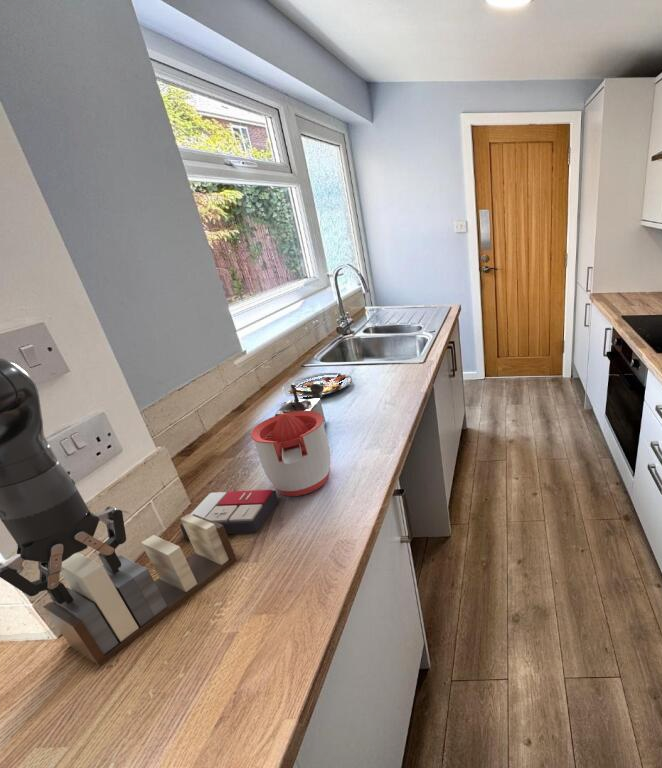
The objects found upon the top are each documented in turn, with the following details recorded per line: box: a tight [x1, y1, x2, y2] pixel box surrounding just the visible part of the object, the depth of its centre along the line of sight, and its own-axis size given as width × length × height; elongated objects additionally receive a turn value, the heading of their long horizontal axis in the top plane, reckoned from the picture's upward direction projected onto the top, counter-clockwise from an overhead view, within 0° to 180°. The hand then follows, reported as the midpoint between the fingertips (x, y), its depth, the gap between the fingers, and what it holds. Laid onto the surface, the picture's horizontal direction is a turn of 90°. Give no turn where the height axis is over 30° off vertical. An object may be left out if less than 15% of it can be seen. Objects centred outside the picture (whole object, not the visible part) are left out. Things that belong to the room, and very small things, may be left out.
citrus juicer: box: [250, 411, 331, 497], centre depth 99 cm, size 16×17×20 cm
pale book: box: [60, 552, 139, 641], centre depth 64 cm, size 8×2×14 cm, turn 67°
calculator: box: [179, 489, 279, 539], centre depth 91 cm, size 11×4×15 cm
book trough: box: [42, 513, 238, 667], centre depth 71 cm, size 9×22×10 cm, turn 157°
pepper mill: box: [274, 382, 327, 428], centre depth 124 cm, size 16×11×18 cm
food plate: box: [281, 372, 353, 398], centre depth 159 cm, size 25×23×4 cm
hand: (91, 585), depth 63 cm, fingers open, 5 cm apart
